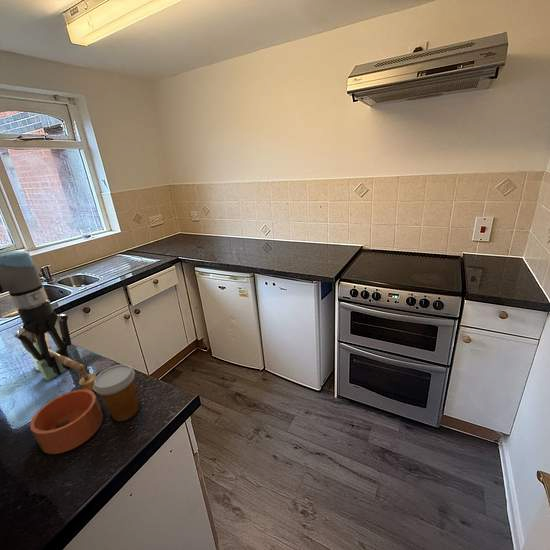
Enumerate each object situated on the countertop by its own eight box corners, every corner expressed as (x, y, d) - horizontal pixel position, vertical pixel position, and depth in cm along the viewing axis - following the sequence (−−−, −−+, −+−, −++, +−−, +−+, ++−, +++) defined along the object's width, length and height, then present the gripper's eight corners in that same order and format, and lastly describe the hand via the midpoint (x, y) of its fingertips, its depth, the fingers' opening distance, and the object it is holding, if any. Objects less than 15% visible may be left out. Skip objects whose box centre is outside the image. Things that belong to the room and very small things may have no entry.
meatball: (50, 430, 73) (55, 420, 73) (58, 423, 76) (63, 414, 75) (61, 435, 73) (66, 425, 73) (68, 428, 76) (73, 418, 76)
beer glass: (62, 360, 104) (46, 323, 99) (41, 373, 99) (23, 334, 93) (51, 356, 107) (35, 320, 102) (29, 368, 101) (11, 331, 96)
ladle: (47, 371, 98) (33, 352, 94) (60, 362, 101) (48, 343, 97) (88, 394, 86) (75, 373, 82) (102, 382, 89) (90, 361, 85)
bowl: (27, 459, 68) (16, 438, 66) (59, 412, 81) (50, 394, 79) (89, 448, 70) (80, 427, 67) (111, 404, 82) (104, 385, 80)
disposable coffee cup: (102, 411, 80) (88, 375, 76) (139, 393, 85) (127, 358, 81) (111, 433, 73) (95, 395, 69) (150, 411, 78) (138, 374, 74)
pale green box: (43, 378, 96) (35, 361, 94) (63, 366, 101) (56, 351, 98) (48, 380, 95) (40, 364, 92) (67, 369, 99) (61, 353, 97)
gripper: (7, 319, 77) (41, 390, 86) (67, 294, 89) (92, 359, 98) (-5, 314, 81) (29, 382, 90) (54, 291, 93) (80, 354, 101)
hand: (62, 370), depth 94 cm, fingers closed on ladle, 2 cm apart
